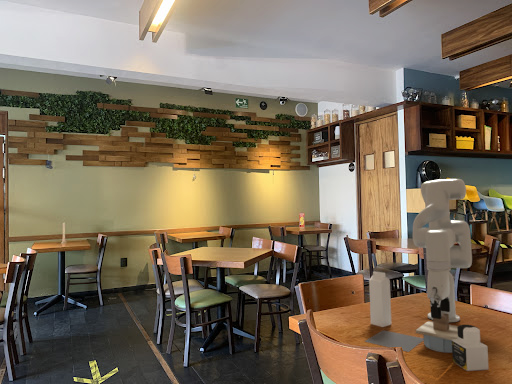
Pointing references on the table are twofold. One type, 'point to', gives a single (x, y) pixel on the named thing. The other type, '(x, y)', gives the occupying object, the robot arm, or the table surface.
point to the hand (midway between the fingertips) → (440, 314)
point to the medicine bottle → (469, 349)
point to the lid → (439, 328)
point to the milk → (380, 299)
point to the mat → (395, 340)
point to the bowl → (438, 344)
